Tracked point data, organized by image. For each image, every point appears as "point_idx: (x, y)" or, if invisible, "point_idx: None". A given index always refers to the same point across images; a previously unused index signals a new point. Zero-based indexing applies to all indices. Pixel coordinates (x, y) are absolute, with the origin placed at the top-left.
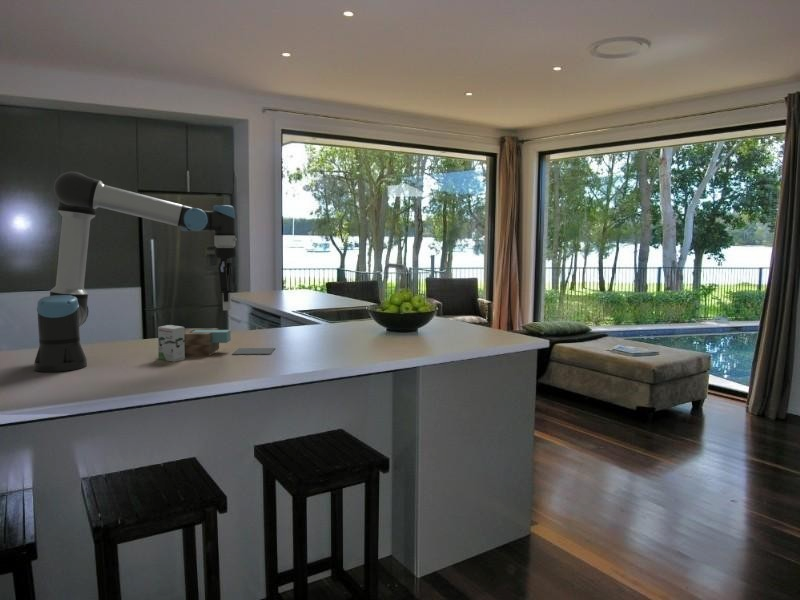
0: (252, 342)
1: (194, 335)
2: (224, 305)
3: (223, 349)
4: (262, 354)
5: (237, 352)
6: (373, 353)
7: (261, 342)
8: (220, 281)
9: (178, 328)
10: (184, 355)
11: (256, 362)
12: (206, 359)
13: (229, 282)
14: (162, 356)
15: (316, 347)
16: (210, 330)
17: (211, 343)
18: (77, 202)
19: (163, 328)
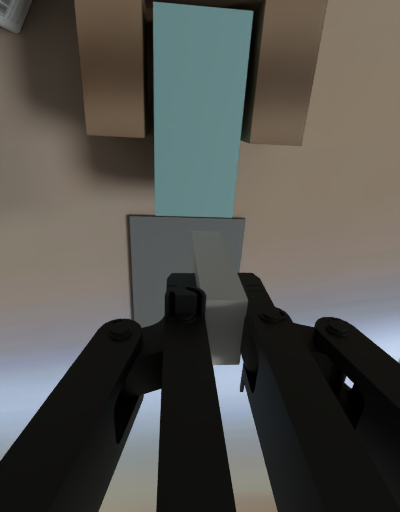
0: (378, 240)
1: (80, 47)
2: (193, 256)
3: (247, 160)
4: (133, 306)
5: (155, 229)
6: (151, 503)
7: (368, 269)
8: (3, 462)
9: None
10: (7, 29)
11: (6, 308)
12: (32, 136)
13: (271, 474)
14: None
15: (242, 411)
16: (222, 116)
17: (148, 134)
18: None
19: None
